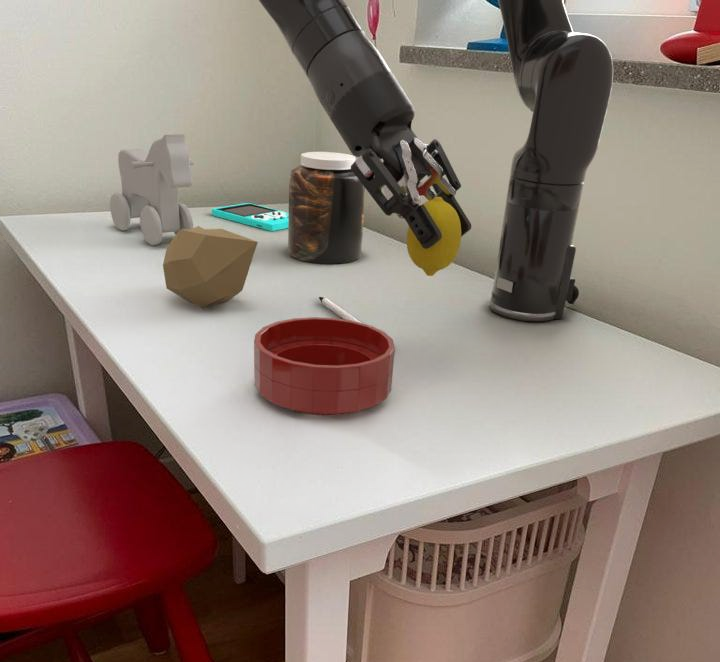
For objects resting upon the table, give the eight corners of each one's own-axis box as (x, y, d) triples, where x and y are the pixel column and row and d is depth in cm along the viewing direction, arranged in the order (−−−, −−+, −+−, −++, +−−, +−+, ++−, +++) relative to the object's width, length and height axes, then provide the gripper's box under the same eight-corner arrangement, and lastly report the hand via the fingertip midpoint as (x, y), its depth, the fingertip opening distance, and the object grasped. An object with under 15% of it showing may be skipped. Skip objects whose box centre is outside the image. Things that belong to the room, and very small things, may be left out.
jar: (342, 268, 119) (347, 165, 111) (275, 256, 122) (276, 155, 115) (371, 252, 128) (378, 156, 121) (308, 241, 132) (311, 147, 124)
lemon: (428, 265, 84) (436, 189, 80) (466, 278, 81) (477, 199, 77) (392, 273, 81) (399, 193, 77) (431, 287, 78) (440, 204, 73)
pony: (214, 247, 125) (210, 134, 116) (156, 255, 119) (147, 137, 110) (156, 221, 138) (148, 118, 129) (100, 227, 132) (89, 119, 123)
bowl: (384, 367, 85) (388, 320, 83) (395, 423, 74) (401, 370, 71) (259, 363, 84) (258, 314, 82) (250, 419, 72) (249, 364, 70)
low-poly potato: (236, 324, 95) (289, 265, 100) (184, 250, 89) (244, 192, 94) (171, 324, 106) (222, 271, 110) (120, 258, 99) (176, 205, 104)
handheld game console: (270, 231, 136) (270, 223, 136) (209, 215, 145) (209, 207, 144) (308, 223, 143) (308, 216, 143) (248, 208, 152) (248, 201, 151)
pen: (384, 350, 90) (385, 340, 89) (316, 300, 104) (316, 292, 103) (391, 349, 90) (391, 340, 90) (322, 300, 104) (322, 292, 104)
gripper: (340, 68, 70) (439, 227, 70) (422, 67, 80) (508, 206, 81) (294, 125, 75) (386, 273, 75) (376, 117, 85) (457, 247, 86)
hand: (449, 238), depth 78 cm, fingers closed on lemon, 5 cm apart
